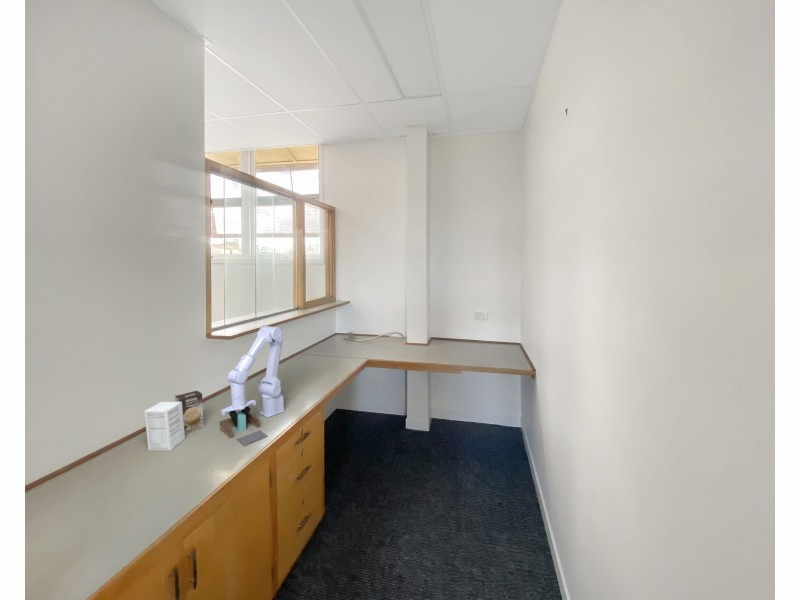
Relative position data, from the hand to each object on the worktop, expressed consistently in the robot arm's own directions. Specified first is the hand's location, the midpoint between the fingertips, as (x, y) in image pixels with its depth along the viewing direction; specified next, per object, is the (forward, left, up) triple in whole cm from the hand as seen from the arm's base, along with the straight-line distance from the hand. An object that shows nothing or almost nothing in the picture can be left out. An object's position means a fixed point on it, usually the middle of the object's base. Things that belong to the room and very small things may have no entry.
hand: (239, 424), depth 149 cm
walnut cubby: (0, 0, -2) cm, 2 cm away
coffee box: (+15, -17, -2) cm, 22 cm away
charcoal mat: (0, +12, -2) cm, 13 cm away
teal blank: (0, 0, -2) cm, 2 cm away
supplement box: (+26, -9, -2) cm, 27 cm away
